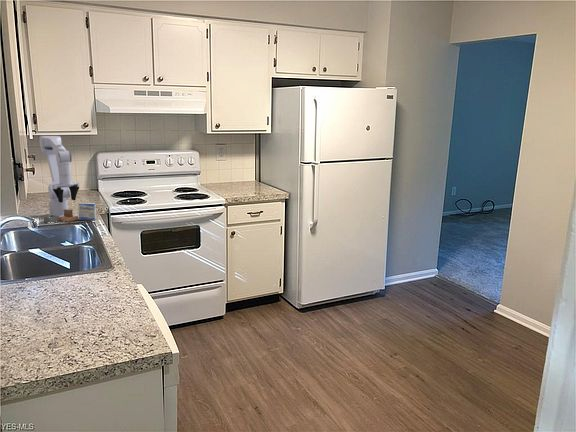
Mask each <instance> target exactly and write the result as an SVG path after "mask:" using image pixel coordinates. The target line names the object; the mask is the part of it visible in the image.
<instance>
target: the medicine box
mask: <svg viewBox="0 0 576 432" xmlns="http://www.w3.org/2000/svg"><path fill="white" fill-rule="evenodd" d="M78 219H79V220H78V221H95V220H96V219H97V203H96V202H79V203H78Z"/></svg>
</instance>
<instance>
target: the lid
mask: <svg viewBox="0 0 576 432" xmlns="http://www.w3.org/2000/svg"><path fill="white" fill-rule="evenodd" d="M77 219H79V215H74V214H73V209H69V208H68V209H66V210H64V216H61V217H59V220H62V221H72V220H77ZM77 221H78V220H77Z"/></svg>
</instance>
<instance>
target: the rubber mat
mask: <svg viewBox="0 0 576 432" xmlns="http://www.w3.org/2000/svg"><path fill="white" fill-rule="evenodd" d="M61 221H62V220H59V222H61ZM72 221H73V222H77V221H80V220H79V218H78V219H77V221H76V220H72ZM67 222H68V223H71V222H70V221H65V222H64V223H67Z"/></svg>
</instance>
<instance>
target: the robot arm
mask: <svg viewBox="0 0 576 432" xmlns="http://www.w3.org/2000/svg"><path fill="white" fill-rule="evenodd" d="M39 145H40V150H41V152H42V153H43V154H44V155H45V156H46V159H47V163H48V167H49V171H50V177H51V181H52V182H50V184H48V187H47V190H48V197H49V199H50V200H49V202H48V208H49V210H48V211H49V214H48V216H49V215H56V216H59V217H61V216H64V210H66V209H69V203H68V202H69V198H71V201H76V199H77V194H78V192H79V190H80V182H79V181H73V180H72V179H73V178H72V167H71V162H72V161H73V160H72V159H73V157H72V152H71V150H67V149H66V148H65V146H63V144H62V138H61V136H60V135H40V136H39Z"/></svg>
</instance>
